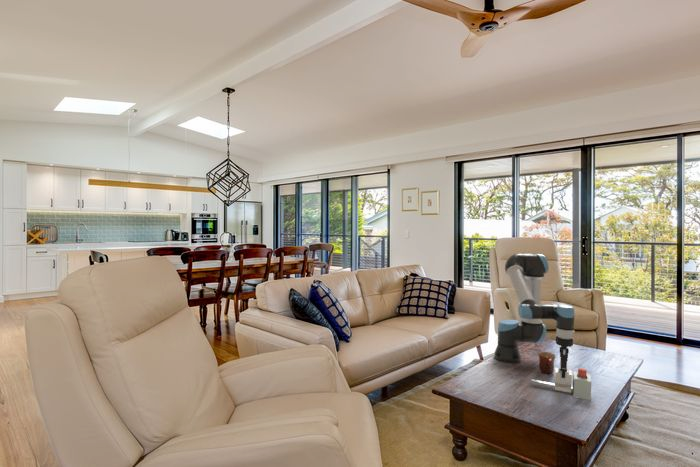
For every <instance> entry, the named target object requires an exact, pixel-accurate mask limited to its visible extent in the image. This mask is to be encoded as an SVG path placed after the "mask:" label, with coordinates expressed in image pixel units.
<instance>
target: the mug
mask: <svg viewBox="0 0 700 467" xmlns="http://www.w3.org/2000/svg"><path fill="white" fill-rule="evenodd" d="M537 354H538V359H539V361H538V370H539V372H540V373H542V374H543V375H546V374H547V376H549V375H553V374H554V372H555V371H554V370H555V359H556V354H554V353H552V352H548V351H539V352H538V353H537Z"/></svg>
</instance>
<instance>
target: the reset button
mask: <svg viewBox="0 0 700 467" xmlns="http://www.w3.org/2000/svg"><path fill="white" fill-rule="evenodd" d="M577 372H578V376H580V377H586V376H587V374H588V373H587V372H588V370H587V369H586V368H578V369H577Z"/></svg>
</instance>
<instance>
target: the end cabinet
mask: <svg viewBox="0 0 700 467" xmlns="http://www.w3.org/2000/svg"><path fill="white" fill-rule="evenodd" d="M572 373H573V374H572V387H573V394H572V395H573V398H577V399H581V400H586V401H591V400H592V379H591V378H592V377H591V374H589V373H587V376H586V377H580V376H578V371H573V372H572Z"/></svg>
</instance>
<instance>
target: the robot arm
mask: <svg viewBox="0 0 700 467" xmlns="http://www.w3.org/2000/svg"><path fill="white" fill-rule="evenodd" d="M549 266H550V265H549V261H548V259H547V257H546V256H545V255H544V254H541V253H513V254H512V255H511V256H509V258H508V259H507V260H506V262H505V264H504V270H505V274H506V275H507V277H509V279H510V281H511V284H512V286H513V288H514V292H515V295H516V297H517V299H518V302H519V305H518V308H517V312H518V316H519V318H521V322H520V321H518V320H517V319H510V318H509V319H502V320H500V321H499V322H498V324H497V345H496V348H495V351H494V353H493V355H494V356H493V357H494V358H495V359H496V360H498V361H500V362H503V363H509V364H516V363H520V362H521V361H522V356H521V352H520V348H519V343H523V344H524V343H525V344H527V343H529V344H531V343H532V344H539V343H543V342H544V341H545V339H546V336H547V326H546V324H544V323H543V320H553V321H555V322H556V326H555V335H556V336H555V344H556V345H558V346H559V359H560V360H559V368H561V369H559V371H560V384H565V385H566V377H567V369H568V366H567V365H568V358H569V352H570V351H569V350H570V349H569V348H570V347H573V346H574V334H576V332H575V330H574V329H575V326H574V325H575V315H576V314H575V308H574V307H573V306H572V305H568V304H567V305H566V304H557V303H554V302H550V303H548V304H541V297H542V294H541V293H542V279H543V278H545V275H546V274H548V272H549Z"/></svg>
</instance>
